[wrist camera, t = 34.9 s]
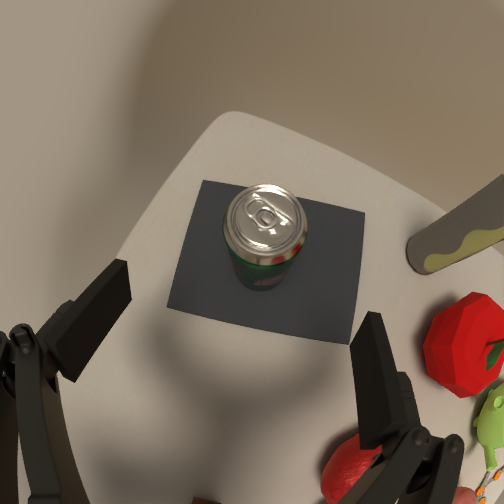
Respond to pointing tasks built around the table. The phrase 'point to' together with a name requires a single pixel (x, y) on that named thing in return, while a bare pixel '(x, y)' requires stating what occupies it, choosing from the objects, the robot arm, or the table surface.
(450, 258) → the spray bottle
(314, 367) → the table surface
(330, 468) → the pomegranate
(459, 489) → the apple
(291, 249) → the soda can
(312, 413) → the table surface
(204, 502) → the window frame
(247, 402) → the table surface
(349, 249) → the mat
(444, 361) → the apple
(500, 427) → the teapot
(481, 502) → the key chain
